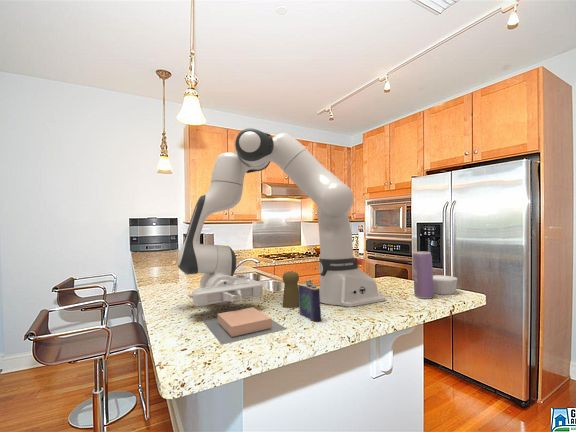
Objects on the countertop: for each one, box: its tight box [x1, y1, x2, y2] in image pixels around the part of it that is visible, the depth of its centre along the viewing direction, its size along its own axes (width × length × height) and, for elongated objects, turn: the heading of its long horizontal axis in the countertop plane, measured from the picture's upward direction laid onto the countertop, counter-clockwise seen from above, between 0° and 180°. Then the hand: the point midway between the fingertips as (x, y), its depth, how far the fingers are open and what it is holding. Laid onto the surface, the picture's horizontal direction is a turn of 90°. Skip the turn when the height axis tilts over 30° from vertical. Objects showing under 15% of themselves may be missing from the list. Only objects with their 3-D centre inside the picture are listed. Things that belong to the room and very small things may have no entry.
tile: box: [217, 306, 273, 337], centre depth 71 cm, size 10×2×12 cm
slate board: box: [202, 317, 288, 346], centre depth 72 cm, size 16×19×1 cm
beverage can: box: [411, 251, 435, 300], centre depth 95 cm, size 6×6×15 cm
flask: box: [298, 278, 322, 323], centre depth 76 cm, size 9×3×11 cm, turn 26°
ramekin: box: [433, 274, 459, 296], centre depth 101 cm, size 11×11×5 cm
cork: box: [282, 271, 300, 309], centre depth 88 cm, size 6×6×11 cm
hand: (236, 298), depth 75 cm, fingers closed
